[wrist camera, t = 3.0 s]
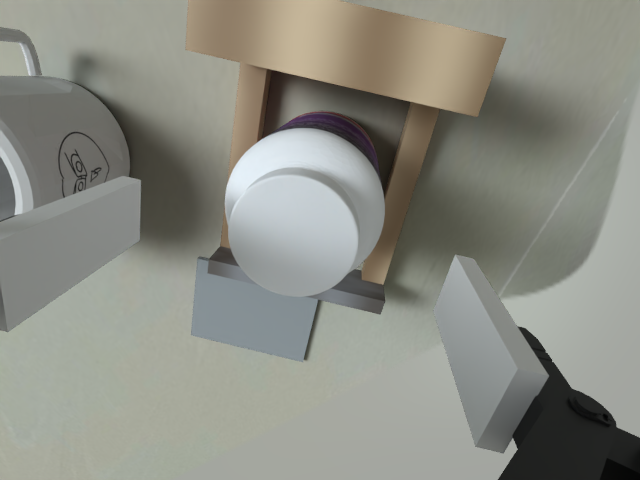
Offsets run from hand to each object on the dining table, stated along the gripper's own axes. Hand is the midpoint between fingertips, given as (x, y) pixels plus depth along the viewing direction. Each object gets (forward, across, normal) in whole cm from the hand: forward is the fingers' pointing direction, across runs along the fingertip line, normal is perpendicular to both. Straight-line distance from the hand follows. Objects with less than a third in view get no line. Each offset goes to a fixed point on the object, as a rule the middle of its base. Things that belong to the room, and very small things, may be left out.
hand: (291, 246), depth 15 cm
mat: (+15, -4, -14) cm, 21 cm away
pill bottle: (+15, 0, 0) cm, 15 cm away
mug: (+15, -21, -2) cm, 25 cm away
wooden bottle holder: (+14, 0, 0) cm, 15 cm away
